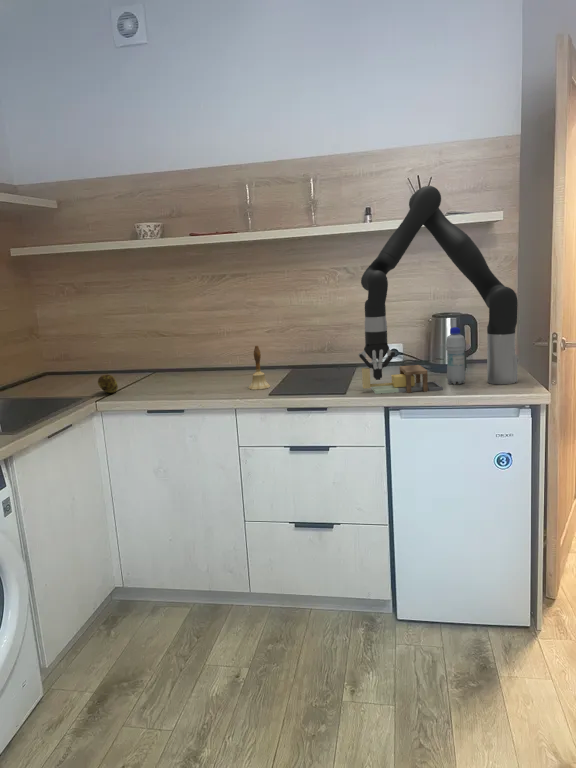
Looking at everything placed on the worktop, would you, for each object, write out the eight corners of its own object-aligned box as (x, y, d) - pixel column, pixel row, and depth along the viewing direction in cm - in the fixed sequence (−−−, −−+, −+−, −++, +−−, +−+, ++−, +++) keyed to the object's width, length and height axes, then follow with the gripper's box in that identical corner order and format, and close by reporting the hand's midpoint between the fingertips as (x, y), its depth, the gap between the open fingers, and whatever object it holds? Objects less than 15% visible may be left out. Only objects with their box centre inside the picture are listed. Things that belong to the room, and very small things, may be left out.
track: (422, 385, 223) (422, 382, 223) (427, 390, 215) (427, 386, 215) (371, 389, 223) (371, 385, 223) (375, 393, 215) (375, 390, 215)
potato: (125, 389, 253) (123, 370, 251) (113, 396, 240) (111, 375, 239) (105, 390, 254) (103, 370, 252) (92, 397, 241) (90, 377, 240)
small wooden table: (419, 384, 225) (419, 364, 224) (427, 391, 213) (427, 370, 212) (400, 386, 225) (399, 366, 224) (407, 393, 213) (406, 372, 212)
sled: (411, 383, 221) (411, 364, 220) (414, 385, 216) (414, 366, 215) (362, 386, 221) (361, 367, 220) (364, 389, 216) (363, 369, 215)
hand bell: (245, 387, 241) (242, 346, 238) (266, 384, 244) (263, 343, 241) (252, 391, 234) (249, 348, 231) (273, 388, 237) (270, 345, 234)
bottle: (452, 386, 219) (451, 328, 216) (442, 382, 226) (441, 327, 222) (469, 384, 221) (469, 327, 217) (459, 380, 227) (458, 325, 224)
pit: (434, 384, 225) (434, 381, 224) (442, 390, 214) (442, 387, 214) (421, 385, 224) (421, 382, 224) (428, 391, 214) (428, 388, 214)
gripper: (393, 327, 219) (394, 376, 222) (355, 329, 219) (357, 378, 222) (397, 329, 211) (398, 380, 215) (358, 332, 211) (360, 382, 214)
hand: (377, 379), depth 218 cm, fingers closed
